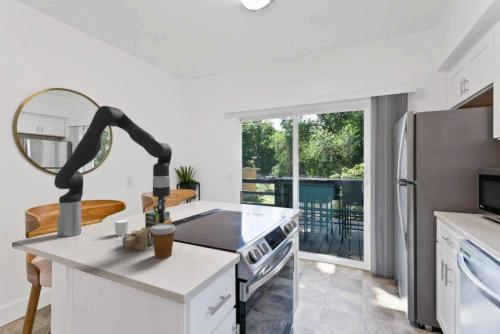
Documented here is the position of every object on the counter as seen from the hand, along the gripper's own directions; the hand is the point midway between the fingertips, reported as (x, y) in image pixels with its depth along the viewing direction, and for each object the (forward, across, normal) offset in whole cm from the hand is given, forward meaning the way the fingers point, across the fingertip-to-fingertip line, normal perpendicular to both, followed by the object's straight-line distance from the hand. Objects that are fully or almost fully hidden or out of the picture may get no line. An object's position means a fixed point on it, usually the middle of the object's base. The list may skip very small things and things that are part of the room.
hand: (161, 223), depth 110 cm
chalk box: (+10, -18, -4) cm, 21 cm away
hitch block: (+10, 0, -10) cm, 14 cm away
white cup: (+10, -21, -22) cm, 32 cm away
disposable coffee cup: (+10, +15, +2) cm, 18 cm away
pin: (+10, -1, -10) cm, 14 cm away
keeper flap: (+2, 0, 0) cm, 2 cm away
